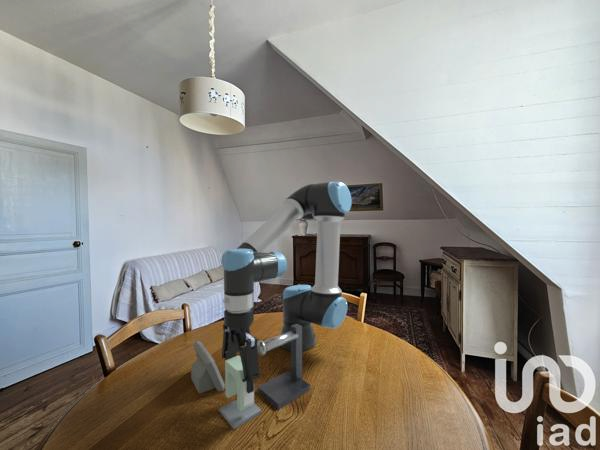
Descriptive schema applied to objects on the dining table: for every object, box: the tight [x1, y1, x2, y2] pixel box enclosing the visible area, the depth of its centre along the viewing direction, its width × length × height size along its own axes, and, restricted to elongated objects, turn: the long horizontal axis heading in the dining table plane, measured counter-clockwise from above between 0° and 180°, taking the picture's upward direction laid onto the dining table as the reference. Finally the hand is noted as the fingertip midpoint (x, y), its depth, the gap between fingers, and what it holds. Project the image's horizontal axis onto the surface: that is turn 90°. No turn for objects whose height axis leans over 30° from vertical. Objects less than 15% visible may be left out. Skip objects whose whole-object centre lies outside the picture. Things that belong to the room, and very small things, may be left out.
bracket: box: [224, 354, 255, 411], centre depth 69 cm, size 8×4×10 cm, turn 42°
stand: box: [257, 324, 311, 410], centre depth 77 cm, size 10×14×18 cm
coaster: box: [218, 399, 262, 430], centre depth 70 cm, size 8×8×1 cm
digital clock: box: [190, 340, 225, 394], centre depth 83 cm, size 16×9×11 cm, turn 24°
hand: (239, 394), depth 69 cm, fingers closed on bracket, 8 cm apart
